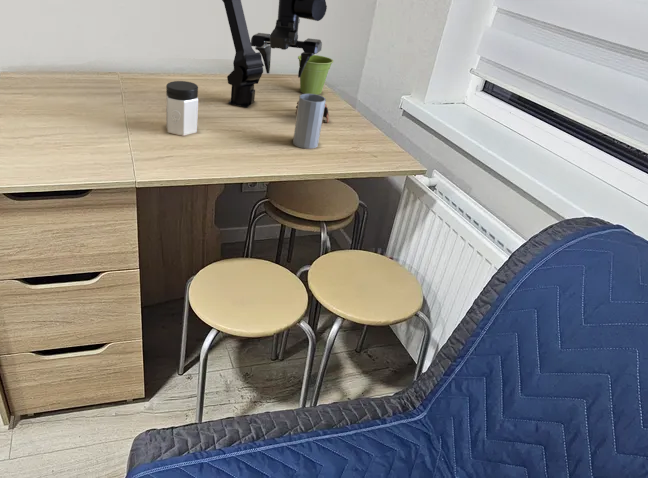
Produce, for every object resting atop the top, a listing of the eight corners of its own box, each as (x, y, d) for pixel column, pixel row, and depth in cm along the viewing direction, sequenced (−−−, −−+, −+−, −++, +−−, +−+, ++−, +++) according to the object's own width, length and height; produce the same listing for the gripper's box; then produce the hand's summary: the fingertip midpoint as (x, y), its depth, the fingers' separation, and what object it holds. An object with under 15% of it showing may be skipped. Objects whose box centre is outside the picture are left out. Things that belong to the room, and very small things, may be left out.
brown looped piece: (331, 128, 152) (323, 105, 146) (300, 137, 155) (291, 115, 150) (330, 105, 160) (322, 82, 154) (301, 114, 163) (292, 92, 158)
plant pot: (333, 92, 180) (339, 59, 174) (318, 100, 171) (324, 65, 165) (302, 84, 185) (307, 52, 179) (287, 92, 176) (291, 58, 170)
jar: (159, 131, 138) (159, 86, 131) (172, 122, 145) (172, 78, 138) (191, 138, 136) (192, 92, 130) (202, 127, 143) (204, 84, 136)
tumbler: (293, 147, 136) (300, 100, 129) (292, 137, 142) (298, 92, 135) (319, 149, 136) (327, 103, 129) (316, 140, 142) (324, 94, 135)
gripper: (245, 15, 134) (242, 77, 142) (315, 23, 129) (308, 86, 137) (259, 10, 143) (255, 68, 151) (325, 17, 138) (318, 77, 146)
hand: (283, 75), depth 146 cm, fingers open, 9 cm apart
